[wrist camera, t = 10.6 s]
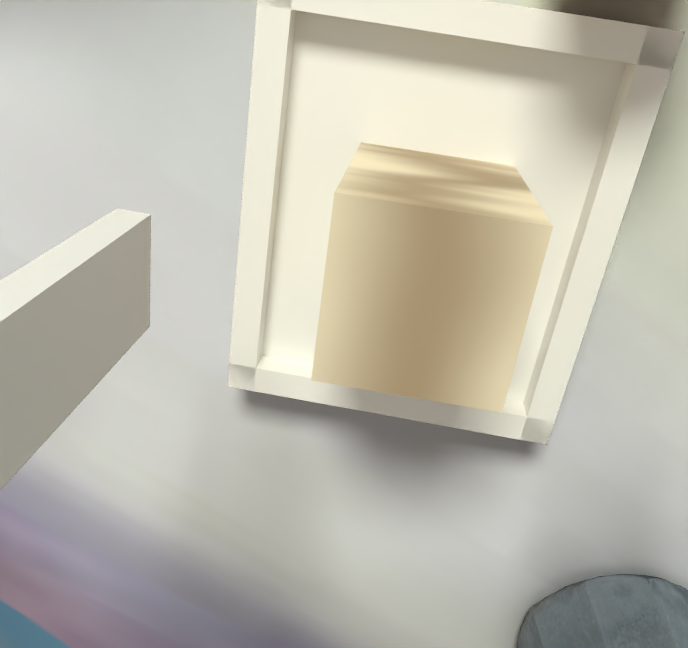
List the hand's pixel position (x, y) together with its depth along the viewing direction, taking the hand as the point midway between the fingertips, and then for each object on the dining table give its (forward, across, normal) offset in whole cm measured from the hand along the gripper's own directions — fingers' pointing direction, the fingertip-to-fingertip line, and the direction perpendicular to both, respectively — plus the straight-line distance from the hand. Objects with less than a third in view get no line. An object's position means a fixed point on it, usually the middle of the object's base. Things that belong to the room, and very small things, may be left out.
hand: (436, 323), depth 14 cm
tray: (+10, 0, 0) cm, 10 cm away
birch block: (+9, 0, 0) cm, 9 cm away
